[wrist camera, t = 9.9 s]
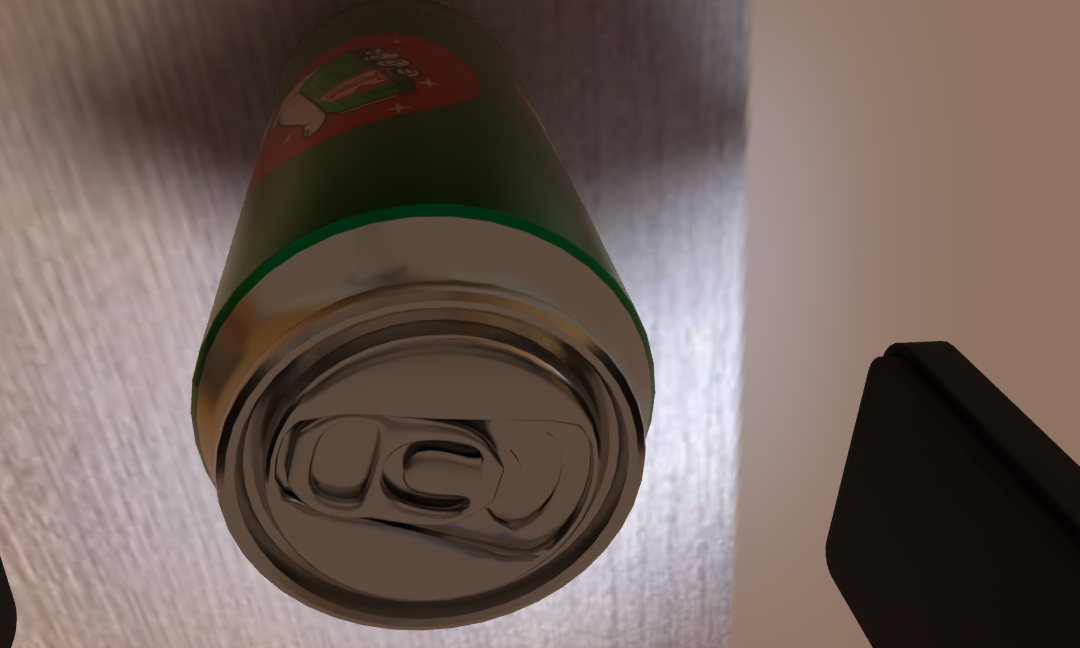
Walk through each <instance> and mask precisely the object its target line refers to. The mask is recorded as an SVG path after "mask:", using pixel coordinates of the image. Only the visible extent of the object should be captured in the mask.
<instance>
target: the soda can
mask: <svg viewBox="0 0 1080 648" xmlns="http://www.w3.org/2000/svg"><path fill="white" fill-rule="evenodd" d="M654 397H655V380H654V363H653V359H652V354H651V350H650V346H649V342H648V338H647V334H646V331H645V329H644V327H643V325H642V323H641V320H640V318H639V316H638V314H637V312H636V309H635V307H634V305H633V303H632V301H631V299H630V297H629V295H628V293H627V291H626V289H625V287H624V285H623V283H622V281H621V279H620V277H619V275H618V273H617V271H616V269H615V267H614V265H613V263H612V261H611V259H610V257H609V255H608V253H607V251H606V249H605V247H604V245H603V243H602V241H601V239H600V237H599V235H598V233H597V231H596V229H595V227H594V225H593V223H592V221H591V219H590V217H589V215H588V213H587V211H586V209H585V207H584V205H583V203H582V201H581V199H580V197H579V195H578V193H577V191H576V189H575V187H574V185H573V183H572V181H571V179H570V177H569V175H568V173H567V171H566V169H565V167H564V165H563V163H562V161H561V159H560V157H559V155H558V153H557V152H556V150H555V148H554V146H553V144H552V142H551V140H550V138H549V136H548V134H547V132H546V130H545V128H544V126H543V124H542V122H541V120H540V118H539V116H538V114H537V112H536V110H535V108H534V106H533V104H532V102H531V100H530V98H529V96H528V94H527V92H526V90H525V88H524V86H523V84H522V82H521V80H520V78H519V76H518V74H517V72H516V70H515V68H514V66H513V64H512V62H511V60H510V59H509V57H508V56H507V54H506V53H505V51H504V50H503V48H502V47H501V45H500V44H499V43H498V42H497V41H496V40H495V39H494V38H493V37H492V35H491V34H490V33H489V32H488V31H487V30H486V29H484V28H483V27H482V26H481V25H479V24H478V23H477V22H476V21H474V20H473V19H472V18H470V17H469V16H467V15H465V14H463V13H461V12H460V11H458V10H456V9H454V8H452V7H450V6H447V5H444V4H441V3H439V2H436V1H433V0H364V1H361V2H358V3H355V4H352V5H349V6H347V7H345V8H343V9H341V10H339V11H337V12H335V13H333V14H331V15H330V16H329V17H327V18H326V19H324V20H323V21H322V22H320V23H319V24H318V25H316V26H315V27H314V28H313V29H312V30H311V31H310V32H309V33H308V34H307V35H306V36H305V37H304V38H303V40H302V41H301V42H300V43H299V45H298V46H297V48H296V49H295V51H294V52H293V54H292V55H291V57H290V58H289V60H288V63H287V65H286V67H285V69H284V72H283V74H282V76H281V79H280V83H279V86H278V89H277V93H276V96H275V100H274V103H273V106H272V110H271V113H270V116H269V120H268V123H267V126H266V130H265V133H264V136H263V140H262V143H261V146H260V150H259V153H258V156H257V160H256V163H255V167H254V170H253V173H252V177H251V180H250V183H249V187H248V190H247V193H246V197H245V200H244V203H243V207H242V210H241V213H240V217H239V220H238V223H237V227H236V230H235V234H234V237H233V240H232V244H231V247H230V250H229V254H228V257H227V260H226V264H225V267H224V270H223V274H222V277H221V280H220V284H219V287H218V290H217V294H216V297H215V301H214V304H213V307H212V311H211V314H210V317H209V321H208V324H207V327H206V331H205V334H204V337H203V341H202V344H201V347H200V351H199V355H198V359H197V363H196V367H195V371H194V375H193V379H192V398H191V417H192V423H193V430H194V436H195V442H196V445H197V448H198V451H199V454H200V456H201V459H202V462H203V465H204V467H205V470H206V473H207V474H208V476H209V478H210V479H211V481H212V483H213V484H214V486H215V488H216V490H217V497H218V501H219V505H220V508H221V511H222V513H223V516H224V519H225V521H226V524H227V527H228V530H229V531H230V533H231V535H232V536H233V538H234V540H235V541H236V543H237V545H238V546H239V548H240V550H241V551H242V553H243V554H244V555H245V556H246V558H247V559H248V560H249V561H250V562H251V563H252V564H253V566H254V567H255V568H256V569H257V570H258V571H259V572H260V573H261V574H262V575H263V576H264V577H265V578H267V579H268V580H269V581H270V582H271V583H273V584H274V585H275V586H276V587H278V588H279V589H280V590H281V591H283V592H284V593H286V594H288V595H289V596H291V597H293V598H294V599H296V600H298V601H300V602H301V603H303V604H305V605H306V606H308V607H311V608H313V609H316V610H318V611H320V612H323V613H325V614H328V615H330V616H332V617H335V618H339V619H342V620H346V621H350V622H353V623H357V624H361V625H366V626H373V627H380V628H386V629H396V630H433V629H445V628H455V627H460V626H465V625H470V624H476V623H481V622H485V621H488V620H491V619H494V618H497V617H501V616H504V615H507V614H510V613H513V612H515V611H517V610H520V609H522V608H524V607H527V606H529V605H531V604H533V603H536V602H538V601H540V600H541V599H543V598H545V597H546V596H548V595H550V594H552V593H553V592H555V591H557V590H558V589H560V588H562V587H563V586H565V585H566V584H567V583H569V582H570V581H571V580H573V579H574V578H575V577H576V576H578V575H579V574H580V573H582V572H583V571H584V570H586V569H587V568H588V567H589V566H590V565H591V564H592V563H593V562H594V561H595V560H596V559H597V557H598V556H599V555H600V554H601V553H602V552H603V551H604V550H605V549H606V548H607V547H608V545H609V544H610V543H611V541H612V540H613V539H614V537H615V536H616V535H617V533H618V532H619V531H620V529H621V528H622V526H623V524H624V522H625V520H626V518H627V516H628V515H629V513H630V511H631V509H632V507H633V505H634V502H635V499H636V496H637V493H638V490H639V487H640V484H641V481H642V475H643V468H644V460H645V450H646V446H645V439H646V436H647V433H648V430H649V427H650V424H651V419H652V411H653V404H654Z"/></svg>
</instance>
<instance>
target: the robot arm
mask: <svg viewBox="0 0 1080 648" xmlns="http://www.w3.org/2000/svg"><path fill="white" fill-rule="evenodd" d="M826 560H827V565H828V569H829V572H830V574H831V576H832V578H833V580H834V582H835V584H836V585H837V587H838V589H839V590H840V592H841V594H842V596H843V597H844V599H845V601H846V602H847V604H848V606H849V608H850V609H851V611H852V613H853V615H854V616H855V618H856V619H857V621H858V623H859V625H860V627H861V628H862V630H863V632H864V633H865V635H866V637H867V638H868V640H869V642H870V644H871V645H872V647H873V648H1080V466H1079V465H1078V464H1077V463H1075V462H1074V461H1073V460H1072V459H1071V458H1070V457H1069V456H1068V455H1067V454H1066V453H1065V452H1064V451H1063V450H1062V449H1061V448H1060V447H1059V446H1058V445H1057V444H1056V443H1055V442H1053V441H1052V440H1051V439H1050V438H1049V437H1048V436H1047V435H1046V434H1045V433H1044V432H1043V431H1042V430H1041V429H1040V428H1039V427H1038V426H1037V425H1036V424H1035V423H1033V421H1032V420H1031V419H1029V418H1028V417H1027V416H1026V415H1025V414H1024V413H1023V412H1022V411H1021V410H1020V409H1019V408H1018V407H1017V406H1016V405H1015V404H1014V403H1013V402H1011V400H1010V399H1008V398H1007V397H1006V396H1005V395H1004V394H1003V393H1002V392H1001V391H1000V390H999V389H998V388H997V387H995V385H994V384H993V383H992V382H991V381H990V380H989V379H988V378H987V377H986V376H984V375H983V374H982V373H981V372H980V371H979V370H978V369H977V368H976V367H975V366H974V365H973V364H972V363H970V361H969V360H968V359H967V358H966V357H965V356H963V355H962V354H961V353H960V352H959V351H958V350H957V349H956V348H955V347H954V346H953V345H951V344H950V343H948V342H944V341H933V342H909V343H895V344H893V345H891V346H889V348H888V349H887V350H886V351H885V353H884V356H883V357H878V358H876V359H874V360H873V362H872V363H871V365H870V368H869V371H868V375H867V379H866V383H865V387H864V391H863V395H862V399H861V403H860V407H859V412H858V415H857V419H856V423H855V427H854V431H853V436H852V440H851V444H850V448H849V452H848V456H847V460H846V464H845V468H844V472H843V476H842V480H841V485H840V489H839V493H838V496H837V501H836V505H835V509H834V513H833V517H832V521H831V525H830V529H829V533H828V537H827V542H826ZM16 623H17V614H16V606H15V602H14V599H13V595H12V592H11V589H10V586H9V583H8V579H7V576H6V573H5V570H4V567H3V563H2V560H1V557H0V648H11V646H12V643H13V640H14V637H15V632H16Z"/></svg>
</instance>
